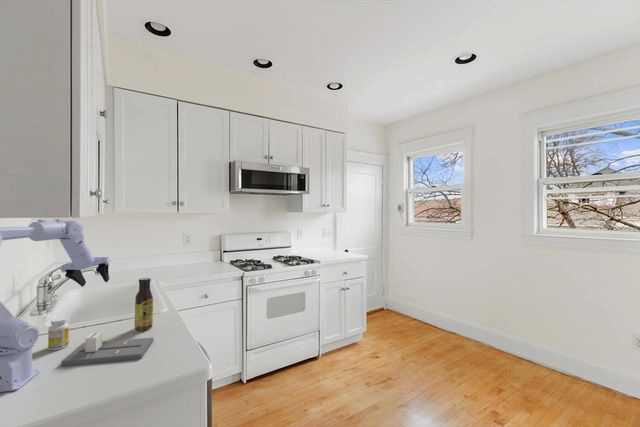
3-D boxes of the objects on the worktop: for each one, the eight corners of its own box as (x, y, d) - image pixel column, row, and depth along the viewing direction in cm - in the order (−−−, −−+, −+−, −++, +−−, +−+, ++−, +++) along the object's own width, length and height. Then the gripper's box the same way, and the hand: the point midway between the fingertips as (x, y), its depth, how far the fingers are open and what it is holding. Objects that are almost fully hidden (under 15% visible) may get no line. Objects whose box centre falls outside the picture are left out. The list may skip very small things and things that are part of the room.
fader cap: (96, 351, 96) (95, 337, 96) (85, 352, 96) (85, 338, 95) (102, 345, 100) (101, 331, 100) (91, 346, 100) (91, 332, 99)
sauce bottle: (144, 332, 115) (144, 281, 114) (130, 330, 116) (130, 280, 115) (157, 325, 121) (156, 277, 120) (143, 324, 122) (143, 276, 122)
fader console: (141, 358, 96) (141, 353, 96) (61, 366, 91) (61, 360, 91) (153, 341, 108) (153, 337, 107) (82, 347, 102) (82, 342, 102)
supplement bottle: (53, 352, 99) (53, 323, 99) (45, 348, 101) (44, 320, 101) (72, 345, 104) (72, 318, 104) (63, 342, 106) (63, 315, 106)
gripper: (106, 241, 106) (121, 271, 113) (60, 249, 103) (78, 279, 110) (99, 253, 100) (115, 283, 107) (49, 261, 97) (69, 292, 104)
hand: (95, 282), depth 108 cm, fingers open, 7 cm apart
